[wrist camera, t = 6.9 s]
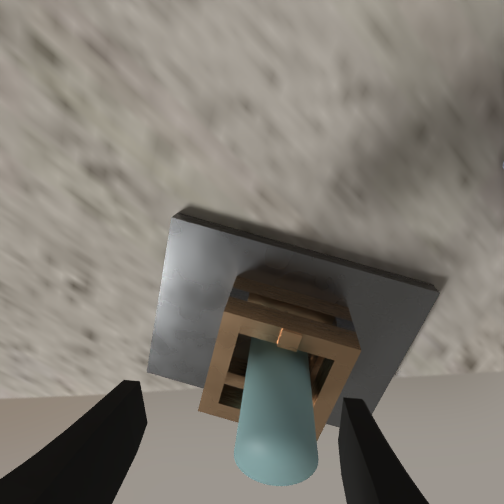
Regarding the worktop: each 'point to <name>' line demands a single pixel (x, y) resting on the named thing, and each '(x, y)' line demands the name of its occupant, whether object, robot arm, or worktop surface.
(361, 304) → the wooden crate on slab
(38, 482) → the robot arm
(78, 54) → the worktop surface
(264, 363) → the teal cylinder
